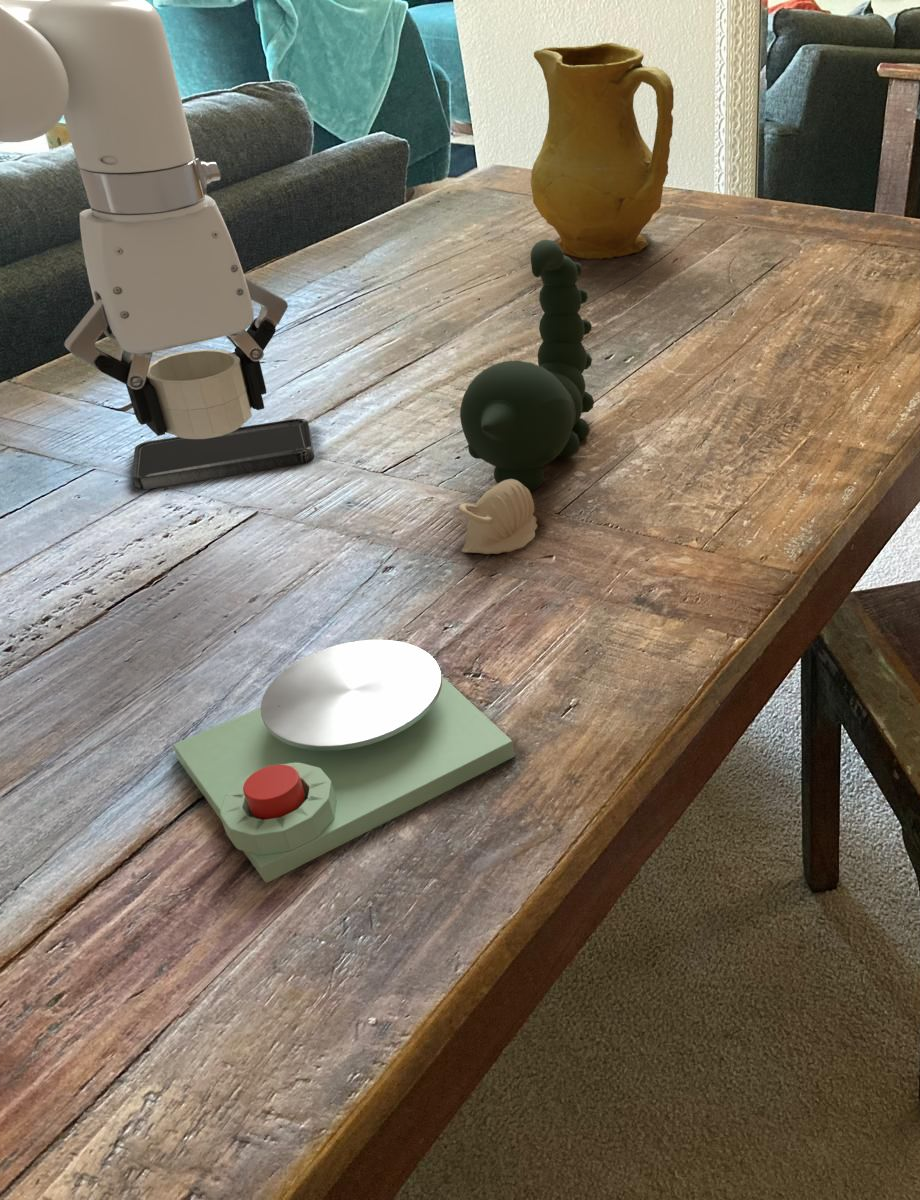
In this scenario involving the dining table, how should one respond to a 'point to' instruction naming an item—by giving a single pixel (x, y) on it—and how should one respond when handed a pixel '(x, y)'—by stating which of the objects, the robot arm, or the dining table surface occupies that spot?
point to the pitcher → (600, 149)
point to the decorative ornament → (500, 519)
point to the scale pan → (351, 695)
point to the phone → (222, 454)
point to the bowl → (201, 393)
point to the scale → (338, 778)
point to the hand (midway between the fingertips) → (205, 415)
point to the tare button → (274, 791)
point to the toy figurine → (535, 384)
